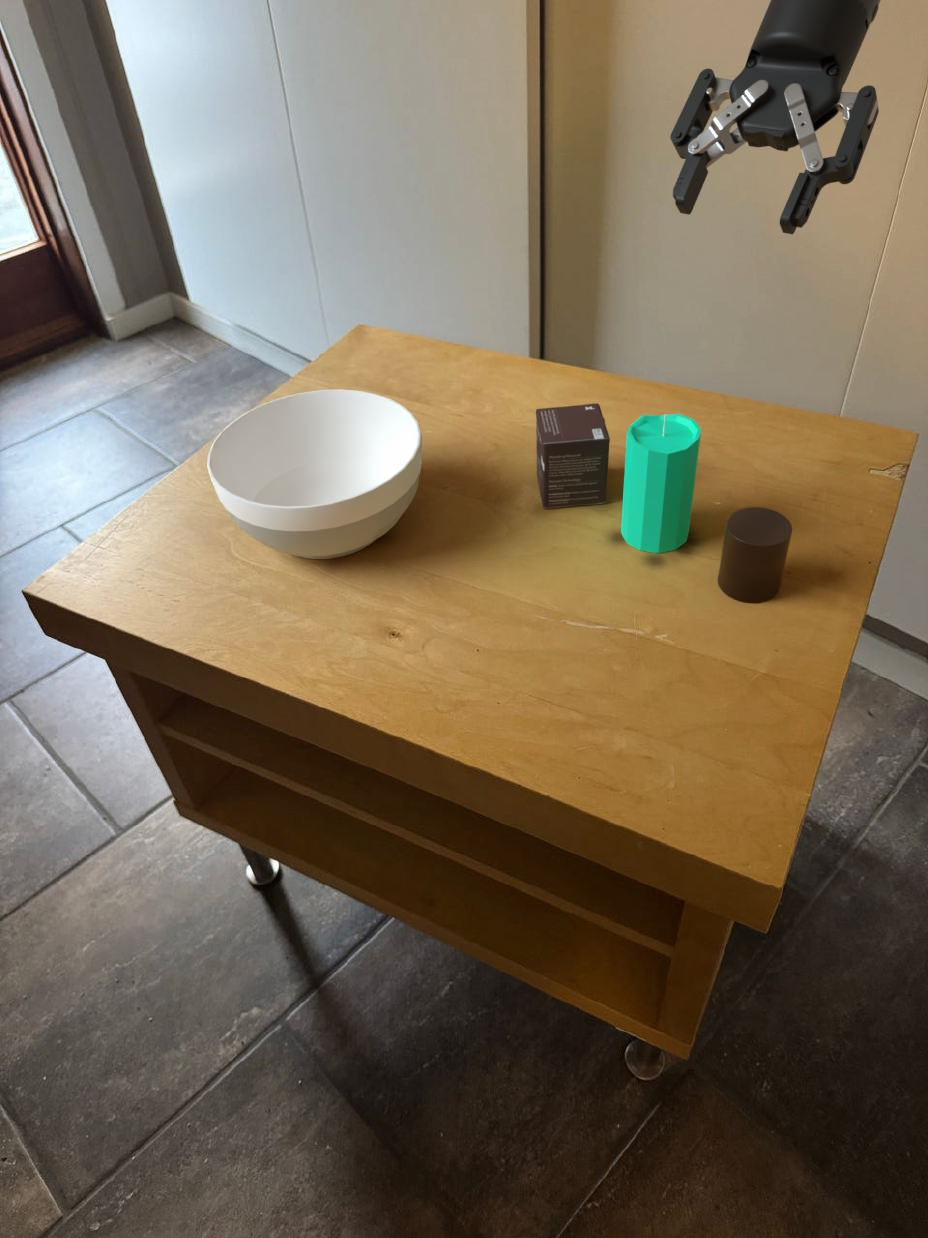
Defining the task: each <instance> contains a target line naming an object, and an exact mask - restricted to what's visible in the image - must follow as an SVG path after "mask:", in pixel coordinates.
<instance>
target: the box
mask: <svg viewBox="0 0 928 1238" xmlns="http://www.w3.org/2000/svg"><path fill="white" fill-rule="evenodd" d="M535 416H536V417H535V426H536V427H535V428H536V429H535V431H536V433H535V434H536V477H537V482H538V483H537V484H538V489H539V494H540V498H541V502H542V507H543V508H544V509H546V510H549V509H550V510H551V509H560V508H568V507H577V506H578V507H579V506H591V505H603V504H606V503H607V496H608V495H607V493H608V491H607V490H608V477H609V475H608V474H609V459H610V442H611V438H610V435H609V431H608V429H607V425H606V420H605V417H604V416H603V412H602V408H601V405H600V404H599V403H586V404H578V405H577V404H576V405H567V406H556V407H555V406H554V407H542V408H536V409H535Z"/></svg>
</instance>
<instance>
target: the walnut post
mask: <svg viewBox="0 0 928 1238" xmlns="http://www.w3.org/2000/svg"><path fill="white" fill-rule="evenodd" d="M792 534H793V525H792V523H791V522H790V520H789V519H788V518H787V517H786V516H785V515H784V514H782V513H780V512H778V511H777V510H774V509H772V508H771V509H770V508H767V507H760V506H751V507H744V508H741V509H738V510H736V511H734V512H733V513H732V514H730V515H729V517H728V518H727V520H726V525H725V532H724V537H723V542H722V543H723V544H722V550H721V557H720V563H719V570H718V575H717V585H718V586H719V588H720V590H721V591H722V592H723V594H724V595H726V596H728V597H729V598H731V599H733V600H735V601H738V602H742V603H746V604H759V603H764V602H766V601H770V600H771V599H773V598H775V597H776V596H777V595H778V593H779V591H780V589H781V584H782V579H783V575H784V571H785V566H786V562H787V557H788V553H789V552H788V551H789V547H790V543H791V538H792Z"/></svg>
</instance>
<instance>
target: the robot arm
mask: <svg viewBox="0 0 928 1238" xmlns="http://www.w3.org/2000/svg"><path fill="white" fill-rule="evenodd" d="M880 3H881V0H770V1H769V3H768V6H767V9H766V11H765V14H764V15H763V18H762V21H761V22H760V25H759V28H758V30H757V32H756V35H755V37H754V38H753V42H752V44H751V47H750V49H749V52H748V55H747V59H746V63H745V65H744V67H743V69H742V70H741V71H740V73H739V74H738V75H737V76H735V78H734V79H729V78H722V77H716V74H715V72H714V70H713V68H712V69H711V68H704V69H703V70H701V71H700V73H699V74H698V76H697V79H696V80H695V82H694V85H693V87H692V89H691V90H690V93H689V95H688V97H687V100H686V101H685V103H684V105H683V108H682V110H681V112H680V114H679V116H678V118H677V121H676V123H675V125H674V127H673V129H672V131H671V133H670V136H669V137H670V141H671V143H672V146H673V147H674V149H675V151H676V152H677V155H678V157H679V158H680V159H682V160H684V162H683V165H682V167H681V170H680V172H679V174H678V177H677V179H676V181H675V184H674V186H673V189H672V198H673V199H674V203H675V207H676V208H677V210H678V211H679V213H680V214H684V215H688V216H690V215H691V214H692V212H693V210H694V207H695V206H696V203H697V201H698V198H699V196H700V194H701V191H702V188H703V187H704V184H705V181H706V180H707V177H708V174H709V170H708V168H709V167H710V166H711V165H713V164H714V163H716V162H717V161H719V159H721V158H722V157H723V156H725V155H731V154H733V153H735V152H736V151H737V150H739V149H740V148H741V147H742V146H743V145H745V144H746V143H747V144H748V145H747V146H748V147H752V148H764V147H770V148H772V149H774V150H776V151H780V152H781V151H782V152H789V149H792V148H795V147H797V146H798V145H799V149H800V152H801V156H802V159H803V162H804V166H805V169H804V172H798V175H797V177H796V179H795V182H794V184H793V187H792V189H791V191H790V193H789V196H788V198H787V200H786V203H785V204H784V207H783V210H782V212H781V215H780V217H779V227H780V229H781V231H782V233H783V234H788V235H794V234H795V232H796V230H797V228H800V229H801V228H803V227H804V226H805V225H806V224H807V222H808V220H809V218H810V216H811V213H812V211H813V208H814V207H815V204H816V202H817V199H818V197H819V195H820V192H821V191H822V189H823V188H824V187H825V186H827V185H829V184H833V183H839V184H840V185H848V184H850V183H852V182H853V181H854V179H855V178H856V176H857V172H858V170H859V167H860V164H861V161H862V159H863V156H864V154H865V152H866V151H865V150H866V148H867V145H868V143H869V141H870V137H871V134H872V132H873V129H874V127H875V124H876V121H877V118H878V116H879V113H880V110H879V101H878V96H877V90H876V88H875V86H873V85H864V86H863V87H861V88H860V89H859V90H858V92H849V91H848V92H847V91H843V87H844V85H845V84H846V82H847V80H848V78H849V75H850V73H851V71H852V68H853V66H854V64H855V61H856V59H857V57H858V54H859V52H860V50H861V47H862V45H863V43H864V40H865V37H866V35H867V33H868V31H869V29H870V26H871V24H872V23H873V22H874V21H875V19H876V16H877V13H878V11H879V6H880ZM726 100H730V103H731V104H729V105H728V106H727V107H726V108H725V109H723V110H722V111H721V112H719V113H718V114H717V115H716V116H715V117H714V118H713V119H712V120H711V122H710V125H709V127H707V125H708V122H709V120H710V118H711V117H712V114H713V112H718V111H719V110H720V109H721V108H720V107H721V105H722V104H723V103H724V102H725V101H726ZM839 112H840V113H842V119H843V124H844V126H845V127H844V131H843V133H842V135H841V137H840V141H839V144H838V146H837V149H836V151H835V155H834V156H828V157H823V155H822V151H821V149H820V145H819V142H818V138H817V135H816V132H817V131H819V130H820V129H821V128H822V127H824V126H825V125H826V124H828V123H829V122H830V121H831V120H832V119H833V118H835V117H836V116H837V115H838V114H839ZM735 124H736V126H737V127H736V128H735V129H734V130H733V131H730V130H731V128H732V127H733V126H734V125H735ZM706 127H707V128H706Z"/></svg>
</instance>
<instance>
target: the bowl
mask: <svg viewBox="0 0 928 1238" xmlns="http://www.w3.org/2000/svg"><path fill="white" fill-rule="evenodd" d="M421 430H422V429H421V426H420V423H419V422H418V421H417V419H416V418H415V416H414V415H413V413H412V412H411V411H409V409H407V408H406V407H405V406H404V405H403V404H401V403H399V402H397V401H395V400H393V399H391V398H389V397H386V396H383V395H380V394H378V393H374V392H368V391H362V390H355V389H338V388H337V389H335V388H334V389H317V390H312V391H304V392H298V393H295V394H291V395H285V396H281V397H279V398H275V399H273V400H271V401H268V402H265V403H262V404H260V405H258V406H256V407H254V408H252V409H249V410H248V411H245V412H244V413H243V414H241V415H240V416H239V417H237V418H235V419H234V420H232V421H231V422H230V423H228V424H227V426H226V427H224V428H223V429H222V430H221V431H220V432H219V434H218V435H217V436H216V438H215V439H214V441H212V444H211V447H210V449H209V451H208V453H207V462H206V463H207V464H206V468H207V472H208V475H209V479H210V480H211V483H212V485H213V488H214V490H215V492H216V496H217V498H218V500H219V502H220V503H221V504H222V505H223V507H224V509H225V510H226V511H227V513H228V515H229V516H230V518H231V519H232V520H233V522H234V523H235V524H236V526H237V527H238V528H239V529H240V530H242V531H243V532H244V533H245V534H247V535H248V536H249V537H251V538H253V539H254V540H255V541H258V542H259V543H261V544H262V545H264V546H266V547H268V548H270V549H272V550H274V551H276V552H280V553H283V554H287V555H292V556H297V557H301V558H304V559H310V560H311V559H312V560H330V559H337V558H342V557H345V556H349V555H352V554H354V553H356V552H359V551H361V550H363V549H365V548H367V547H368V546H370V545H371V544H373V543H374V542H375V541H376V540H377V539H379V538H381V537H382V536H384V535H385V534H387V533H388V532H389V531H390V530H391V529H392V528H393V527H395V525H396V524H397V523H398V522H399V521H400V519H401V518H402V516H403V515H404V513H405V512H406V510H407V509H408V508H409V506H410V505H411V503H412V502H413V500H414V498H415V495H416V493H417V491H418V487H419V482H420V475H421V469H422V466H423V465H422V463H423V435H422V431H421Z"/></svg>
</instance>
